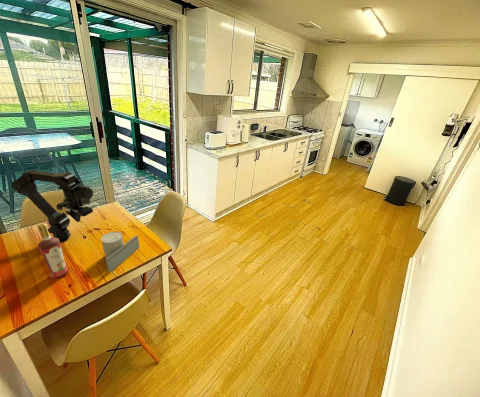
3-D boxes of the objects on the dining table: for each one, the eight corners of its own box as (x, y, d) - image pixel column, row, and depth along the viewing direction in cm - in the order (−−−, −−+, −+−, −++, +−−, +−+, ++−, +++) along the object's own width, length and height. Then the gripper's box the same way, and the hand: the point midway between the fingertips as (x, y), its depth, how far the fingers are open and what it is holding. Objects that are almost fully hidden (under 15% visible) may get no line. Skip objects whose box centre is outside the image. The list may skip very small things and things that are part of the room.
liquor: (64, 266, 112) (48, 218, 99) (72, 272, 109) (56, 224, 96) (47, 275, 106) (27, 226, 93) (55, 282, 103) (35, 232, 90)
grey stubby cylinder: (105, 263, 116) (100, 244, 110) (105, 252, 123) (101, 233, 118) (125, 258, 120) (122, 240, 115) (124, 248, 127) (121, 230, 122)
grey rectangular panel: (108, 271, 111) (105, 259, 108) (137, 246, 129) (135, 235, 126) (110, 272, 111) (108, 260, 108) (139, 247, 129) (137, 236, 126)
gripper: (98, 194, 122) (104, 218, 129) (72, 187, 126) (78, 211, 133) (80, 202, 112) (86, 228, 119) (52, 195, 117) (60, 220, 124)
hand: (78, 221), depth 124 cm, fingers closed
